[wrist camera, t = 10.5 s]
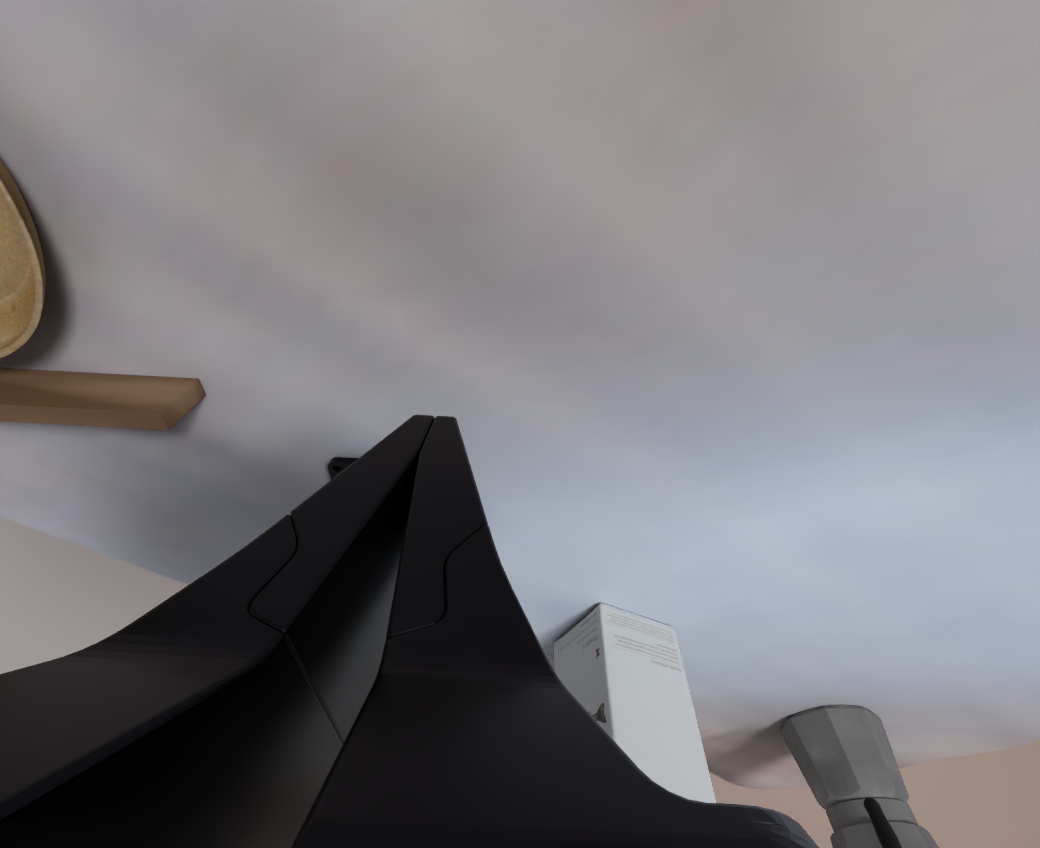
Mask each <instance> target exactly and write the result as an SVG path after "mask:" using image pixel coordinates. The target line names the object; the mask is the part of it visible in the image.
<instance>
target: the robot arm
mask: <svg viewBox="0 0 1040 848" xmlns="http://www.w3.org/2000/svg"><path fill="white" fill-rule="evenodd" d="M336 465H337V466H336ZM338 466H340V467H338ZM328 469H329V473H330V476H331V479H332V480H331V481H330V482H328V483H327V484H326V485H324V486H323V487H322V488H321V489H319V490H318V491H317V492H316V493H314V494H313V495H312V496H310V497H309V498H308V499H307V500H305V501H304V502H303V503H302V504H300V505H299V506H298V507H296V508H295V509H294V510H293V511H291V515H286V516H285V517H283V518H282V519H281V520H280V521H278V522H277V523H276V524H275V525H273V526H272V527H271V528H269V529H268V530H267V531H265V532H264V533H263V534H261V535H260V536H259V537H257V538H256V539H255V540H253V541H252V542H251V543H249V544H248V545H247V546H245V547H244V548H243V549H241V550H240V551H238V552H237V553H235V554H234V555H233V556H231V557H230V558H228V559H227V560H225V561H224V562H222V563H221V564H219V565H218V566H217V567H215V568H214V569H212V570H211V571H209V572H208V573H206V574H205V575H203V576H202V577H200V578H199V579H197V580H196V581H194V582H193V583H191V584H190V585H188V586H187V587H185V588H184V589H182V590H181V591H179V592H178V593H176V594H175V595H173V596H172V597H170V598H169V599H167V600H166V601H164V602H163V603H161V604H160V605H158V606H157V607H155V608H154V609H152V610H150V611H149V612H147V613H146V614H144V615H143V616H142V617H140V618H139V619H137V620H136V621H134V622H132V623H131V624H129V625H128V626H126V627H124V628H123V629H122V630H120V631H118V632H117V633H115V634H113V635H111V636H109V637H107V638H105V639H104V640H102V641H100V642H98V643H96V644H94V645H91V646H89V647H87V648H85V649H83V650H80V651H78V652H75V653H72V654H70V655H67V656H64V657H61V658H57V659H54V660H51V661H47V662H43V663H40V664H36V665H33V666H29V667H25V668H22V669H18V670H14V671H11V672H7V673H3V674H0V848H819V847H818V846H817V845H816V843H815V842H814V841H813V840H812V839H811V837H810V836H809V835H808V834H807V833H806V831H805V830H804V829H803V828H802V827H801V825H800V824H799V823H798V822H796V821H795V820H793V819H792V818H790V817H789V816H787V815H785V814H783V813H780V812H777V811H775V810H771V809H767V808H762V807H757V806H748V805H737V804H720V803H706V802H700V801H695V800H689V799H686V798H684V797H682V796H679V795H677V794H674V793H672V792H669V791H668V790H666V789H665V788H663V787H662V786H660V785H658V784H657V783H655V782H654V781H652V780H651V779H650V778H649V777H648V776H647V775H646V774H645V773H644V772H642V771H641V770H640V769H639V768H638V767H637V765H636V764H635V763H634V762H633V761H632V760H631V759H630V758H629V757H628V756H627V754H626V753H625V752H624V751H623V750H622V749H621V748H620V747H619V746H618V745H617V743H616V742H615V741H614V740H613V739H612V738H611V737H610V736H609V735H608V733H607V732H606V731H605V730H604V729H603V728H602V727H601V726H600V725H599V724H598V722H597V721H596V720H595V719H594V718H593V717H592V716H591V715H590V714H589V713H588V711H587V710H586V709H585V708H584V707H583V706H582V705H581V704H580V703H579V702H578V700H577V699H576V698H575V697H574V696H573V695H572V694H571V693H570V692H569V690H568V689H567V688H566V687H565V686H564V685H563V683H562V682H561V680H560V679H559V677H558V676H557V674H556V673H555V671H554V669H553V668H552V666H551V664H550V662H549V661H548V659H547V657H546V655H545V653H544V651H543V650H542V648H541V646H540V644H539V642H538V640H537V638H536V636H535V634H534V632H533V630H532V628H531V625H530V623H529V621H528V619H527V617H526V615H525V613H524V611H523V609H522V607H521V605H520V603H519V601H518V599H517V597H516V595H515V593H514V591H513V589H512V587H511V585H510V582H509V580H508V578H507V576H506V573H505V571H504V569H503V567H502V564H501V562H500V559H499V556H498V553H497V550H496V547H495V545H494V542H493V539H492V535H491V532H490V529H489V526H488V523H487V519H486V516H485V513H484V509H483V506H482V503H481V499H480V496H479V493H478V490H477V486H476V483H475V480H474V476H473V473H472V470H471V466H470V463H469V460H468V456H467V453H466V450H465V446H464V443H463V440H462V437H461V433H460V430H459V427H458V423H457V420H456V418H455V417H449V416H437V417H435V418H434V416H430V415H414V416H412V417H411V418H410V419H408V420H407V421H406V422H405V423H403V424H402V425H401V426H400V427H398V428H397V429H396V430H394V431H393V432H392V433H391V434H389V435H388V436H387V437H386V438H384V439H383V440H382V441H380V442H379V443H378V444H377V445H375V446H374V447H373V448H372V449H370V450H369V451H368V452H366V453H365V454H364V455H363V456H361V457H360V458H341V457H336V458H333V459H332V460H331V461H330V463H329V465H328Z"/></svg>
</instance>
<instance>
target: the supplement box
mask: <svg viewBox="0 0 1040 848" xmlns="http://www.w3.org/2000/svg"><path fill="white" fill-rule="evenodd" d="M554 671H555V673H556V674H557V676H558V677H559V679H560V680H561V682H562V683H563V685H564V686H565V687H566V688H567V689H568V690H569V692H570V693H571V694H572V695H573V696H574V697H575V698H576V699H577V700H578V702H579V703H580V704H581V705H582V706H583V707H584V708H585V709H586V710H587V711H588V713H589V714H590V715H591V716H592V717H593V718H594V719H595V720H596V721H597V722H598V724H599V725H600V726H601V727H602V728H603V729H604V730H605V731H606V732H607V733H608V735H609V736H610V737H611V738H612V739H613V740H614V741H615V742H616V743H617V745H618V746H619V747H620V748H621V749H622V750H623V751H624V752H625V753H626V754H627V756H628V757H629V758H630V759H631V760H632V761H633V762H634V763H635V764H636V765H637V767H638V768H639V769H640V770H641V771H642V772H644V773H645V774H646V775H647V776H648V777H649V778H650V779H651V780H652V781H654V782H655V783H657V784H658V785H660V786H662V787H663V788H665V789H666V790H668V791H669V792H672V793H674V794H677V795H679V796H682V797H684V798H686V799H689V800H695V801H700V802H706V803H716V799H715V796H714V791H713V787H712V783H711V778H710V775H709V770H708V766H707V762H706V757H705V753H704V749H703V745H702V741H701V737H700V732H699V728H698V724H697V720H696V716H695V711H694V707H693V703H692V699H691V695H690V691H689V687H688V682H687V678H686V674H685V670H684V666H683V661H682V657H681V653H680V649H679V645H678V641H677V637H676V632H675V628H673V627H670V626H668V625H665V624H662V623H659V622H656V621H653V620H651V619H648V618H645V617H642V616H639V615H636V614H633V613H630V612H627V611H624V610H621V609H618V608H615V607H613V606H610V605H606V604H603V603H600V604H599V605H598V606H597V607H596V608H595V609H594V610H593V611H592V612H591V613H590V614H588V615H587V616H586V617H585V618H584V619H583V620H582V621H581V622H579V623H578V624H577V625H576V626H575V627H573V628H572V629H571V630H570V631H569V632H567V633H566V634H565V635H564V636H562V637H561V638H560V639H558V640H557V641H556V642H555V643H554Z"/></svg>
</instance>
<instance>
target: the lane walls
mask: <svg viewBox="0 0 1040 848" xmlns="http://www.w3.org/2000/svg"><path fill="white" fill-rule="evenodd" d="M205 396H206V394H205V392H204V389H203V387H202V385H201V383H200V381H199V379H193V378H174V377H155V376H136V375H118V374H99V373H80V372H61V371H43V370H24V369H5V368H0V421H10V422H29V423H47V424H66V425H84V426H103V427H122V428H140V429H159V430H169V429H170V428H171V427H172V426H174V425H175V424H176V423H177V422H178V421H179V420H180V419H181V418H182V417H183V416H184V415H185V414H186V413H187V412H189V411H190V410H191V409H192V408H193V407H194V406H195V405H196V404H197V403H198V402H199V401H200V400H201V399H202V398H203V397H205Z"/></svg>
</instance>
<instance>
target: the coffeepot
mask: <svg viewBox="0 0 1040 848" xmlns="http://www.w3.org/2000/svg"><path fill="white" fill-rule="evenodd" d="M781 734H782V736H783V738H784V740H785V742H786V744H787V745H788V747H789V749H790V751H791V753H792V755H793V757H794V759H795V760H796V762H797V764H798V766H799V768H800V770H801V772H802V774H803V775H804V777H805V779H806V781H807V783H808V785H809V787H810V788H811V790H812V792H813V794H814V796H815V798H816V799H817V802H818V803H819V804H820V805H821V806H822V807H823V808H824V809H825V810H826V813H827V816H828V818H829V821H830V823H831V825H832V828H833V830H834V833H833V834H832V835H831V837H830V838H831V842H832V846H833V848H939V847H938V846H937V844H936V842H935V841H934V839H933V838H932V836H931V835H930V833H929V832H928V831H927V830H926V829H924V828H923V827H921V826H919V825H918V823H917V821H916V819H915V817H914V815H913V813H912V811H911V809H910V807H909V805H908V804H907V800H908V797H909V796H908V793H907V790H906V788H905V785H904V782H903V779H902V776H901V774H900V771H899V768H898V765H897V763H896V760H895V757H894V754H893V751H892V749H891V746H890V743H889V740H888V738H887V735H886V732H885V729H884V727H883V724H882V721H881V719H880V718H879V717H877V716H876V715H875V714H874V713H873V712H872V711H870V710H868V709H866V708H863V707H859V706H853V705H830V706H822V707H816V708H812V709H808V710H804V711H802V712H799V713H796V714H794V715H792V716H791V717H789V718H788V719H786V721H785V722H784V723H783V729H782V730H781Z"/></svg>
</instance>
